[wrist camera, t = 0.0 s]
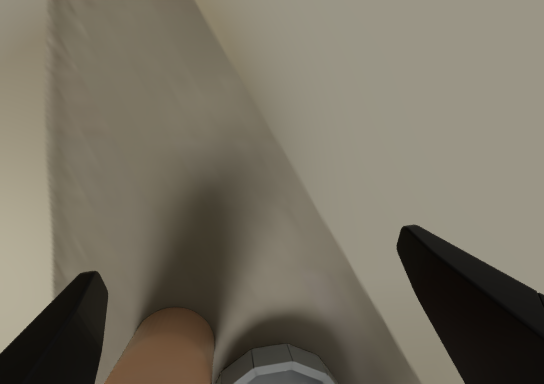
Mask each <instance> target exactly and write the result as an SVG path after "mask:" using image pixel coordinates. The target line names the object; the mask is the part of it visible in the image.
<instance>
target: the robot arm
mask: <svg viewBox="0 0 544 384" xmlns="http://www.w3.org/2000/svg"><path fill="white" fill-rule="evenodd" d="M397 252H398V255H399V256H400V259H401V262H402V264H403V266H404V269H405V271H406V273H407V275H408V278H409V280H410V283H411V285H412V288H413V290H414V292H415V294H416V296H417V298H418V300H419V302H420V304H421V305H422V307H423V309H424V311H425V313H426V314H427V316H428V318H429V320H430V322H431V323H432V325H433V327H434V329H435V331H436V332H437V334H438V336H439V337H440V340H441V341H442V343H443V345H444V347H445V348H446V350H447V352H448V354H449V356H450V358H451V359H452V361H453V363H454V365H455V366H456V368H457V370H458V372H459V374H460V375H461V377H462V379H463V381H464V383H465V384H544V295H543V294H541V293H537V291H536V290H534V289H532V288H530V287H528V286H526V285H525V284H523V283H521V282H519V281H517V280H515V279H514V278H512V277H510V276H508V275H507V274H505V273H503V272H501V271H499V270H497V269H495V268H494V267H492V266H490V265H488V264H486V263H485V262H483V261H481V260H479V259H478V258H476V257H474V256H472V255H470V254H468V253H467V252H465V251H463V250H461V249H459V248H458V247H455V246H454V245H452V244H450V243H448V242H447V241H445V240H443V239H441V238H439V237H438V236H436V235H434V234H432V233H430V232H429V231H427V230H425V229H423V228H421V227H420V226H417V225H408V226H403V227H402V229H401V231H400V235H399V238H398V242H397ZM107 302H108V291H107V288H106V286H105V284H104V282H103V280H102V278H101V276H100V274H99V273H98V272H97V271H89V272H83V273H80V274H79V275H78V276H77V277H76V278H75V279H74V280H73V281H72V282H71V283H70V284H69V285H68V286H67V287H66V288H65V289H64V290H63V291H62V292H61V293H60V294H59V295H58V296H57V297H56V298H55V299H54V300H53V301H52V302H51V303H50V304H49V305H48V306H47V307H46V308H45V309H44V310H43V311H42V312H41V313H40V314H39V315H38V316H37V317H36V318H35V319H34V320H33V321H32V322H31V323H30V324H29V325H28V326H27V327H26V328H25V329H24V330H23V331H22V332H21V333H20V335H18V336H17V337H16V338H15V339H14V340H13V341H12V342H11V343H10V345H8V346H7V347H6V349H4V350H3V352H2V353H0V384H95V379H96V375H97V371H98V366H99V362H100V357H101V352H102V346H103V338H104V329H105V320H106V311H107Z"/></svg>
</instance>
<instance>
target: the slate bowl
mask: <svg viewBox="0 0 544 384" xmlns="http://www.w3.org/2000/svg"><path fill="white" fill-rule="evenodd" d="M216 384H338V382H337V381H336V379H335V378H334V377H333V375H332V374H331V373H330V371H329V370H328V368H327V367H326V366H325V364H324V363H323V362H322V360H321V359H320V358H319V356H318V355H315V354H313V353H310V352H308V351H305V350H303V349H300V348H297V347H295V346H292V345H290V344H287V345H286V343H285V344H279V345H273V346H267V347H260V348H254V349H252V350H249V351H248V352H247V353H245V354H244V355H243V356H241V357H240V358H239V359H237V360H236V361H235V362H234V363H232V364H231V365H230V366H228V367H227V368H226V369H224V370H223V371H222V372H221V374H220V376H219V378H218V380H217V383H216Z"/></svg>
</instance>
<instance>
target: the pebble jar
mask: <svg viewBox="0 0 544 384" xmlns="http://www.w3.org/2000/svg"><path fill="white" fill-rule="evenodd" d="M214 346H215V345H214V336H213V332H212V330H211V328H210V326H209V324H208V323H207V322H206V320H205V319H204V318H203V317H201V316H200V315H199V314H197V313H196V312H194V311H192V310H189V309H186V308H180V307H172V308H165V309H162V310H159V311H157V312H155V313H153V314H151V315H150V316H148V317H147V318H146V319H145V320H144V321H143V322H142V323H141V324H140V326H139V327H138V329H137V330H136V332H135V334H134V335H133V337H132V338H131V340H130V342H129V343H128V345H127V347H126V348H125V350H124V352H123V353H122V355H121V357H120V358H119V360H118V362H117V363H116V365H115V367H114V368H113V370H112V371H111V373H110V375H109V376H108V378H107V380H106V381H105V383H104V384H211V383H212V371H213V358H214Z"/></svg>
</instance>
